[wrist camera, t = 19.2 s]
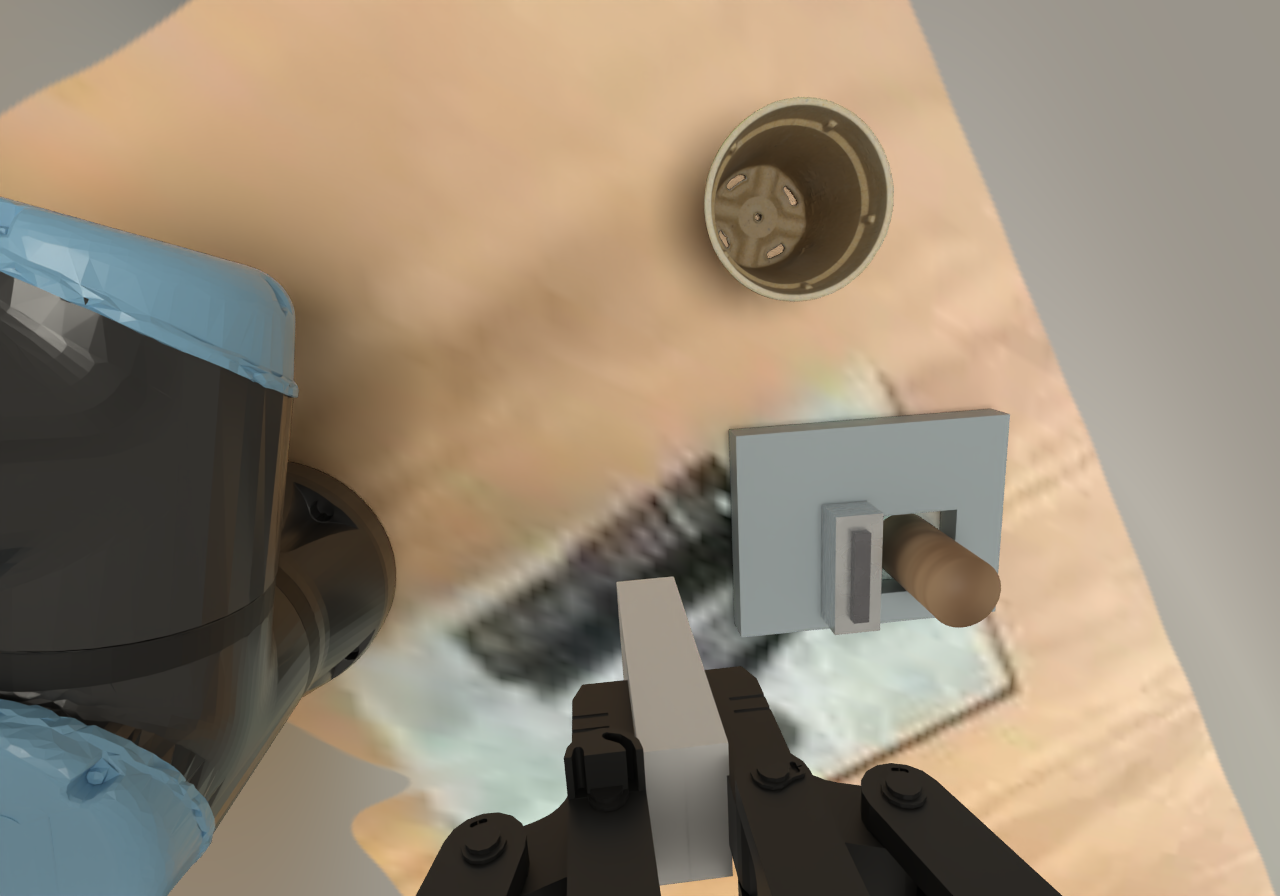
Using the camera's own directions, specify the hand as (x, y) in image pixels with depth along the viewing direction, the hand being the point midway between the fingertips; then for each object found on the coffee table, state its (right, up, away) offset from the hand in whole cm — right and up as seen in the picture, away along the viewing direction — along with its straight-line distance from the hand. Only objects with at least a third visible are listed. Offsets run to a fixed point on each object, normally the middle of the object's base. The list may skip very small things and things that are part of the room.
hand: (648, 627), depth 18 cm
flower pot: (+7, +19, +24) cm, 31 cm away
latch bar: (+13, -3, +27) cm, 30 cm away
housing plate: (+15, 0, +29) cm, 32 cm away
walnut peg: (+18, -2, +29) cm, 35 cm away
